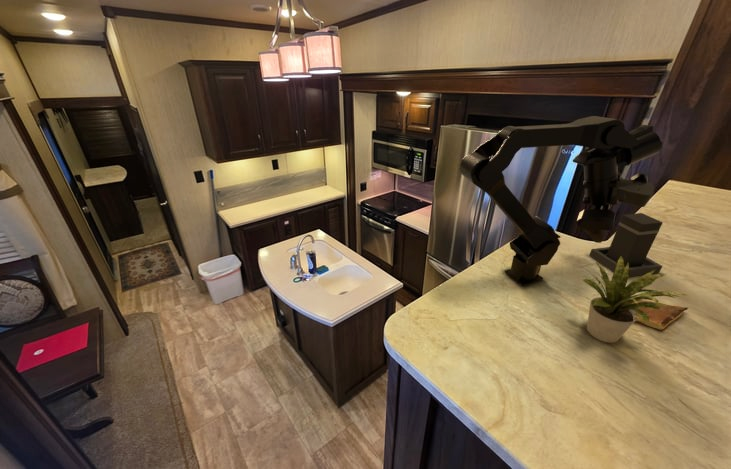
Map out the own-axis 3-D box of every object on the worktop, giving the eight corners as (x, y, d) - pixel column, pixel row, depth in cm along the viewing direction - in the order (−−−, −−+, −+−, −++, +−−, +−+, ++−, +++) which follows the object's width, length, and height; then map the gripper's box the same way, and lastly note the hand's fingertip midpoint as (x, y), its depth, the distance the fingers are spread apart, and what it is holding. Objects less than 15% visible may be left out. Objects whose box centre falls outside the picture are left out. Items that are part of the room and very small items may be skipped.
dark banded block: (622, 269, 74) (642, 224, 68) (605, 257, 79) (622, 214, 73) (641, 267, 74) (663, 222, 68) (622, 255, 79) (641, 212, 73)
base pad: (622, 278, 72) (625, 270, 71) (589, 255, 81) (591, 248, 80) (659, 273, 73) (662, 266, 72) (622, 251, 82) (625, 244, 81)
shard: (685, 312, 61) (689, 306, 60) (705, 340, 55) (710, 333, 54) (621, 302, 65) (624, 295, 64) (634, 326, 59) (637, 320, 58)
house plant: (617, 380, 49) (658, 309, 41) (544, 325, 61) (565, 261, 53) (665, 348, 54) (709, 279, 46) (589, 303, 65) (614, 241, 57)
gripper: (648, 196, 52) (643, 260, 60) (655, 149, 62) (650, 209, 70) (574, 198, 60) (578, 253, 68) (590, 156, 70) (592, 208, 78)
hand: (601, 230), depth 70 cm, fingers open, 9 cm apart
